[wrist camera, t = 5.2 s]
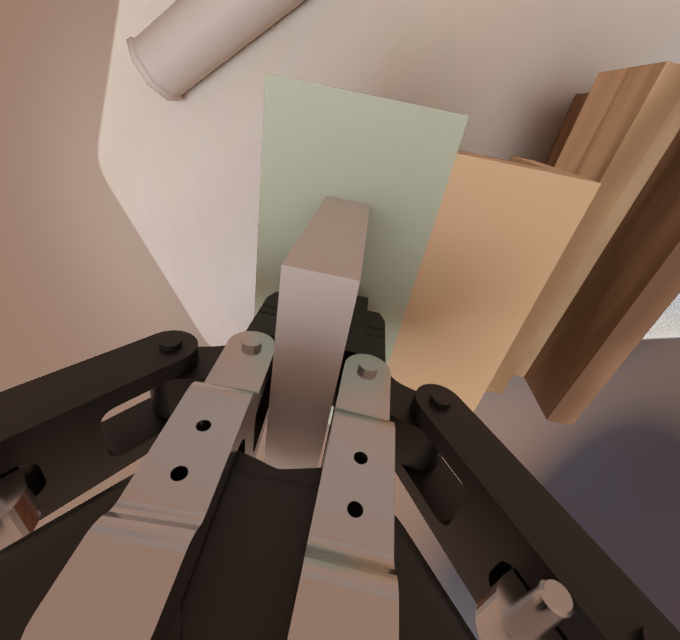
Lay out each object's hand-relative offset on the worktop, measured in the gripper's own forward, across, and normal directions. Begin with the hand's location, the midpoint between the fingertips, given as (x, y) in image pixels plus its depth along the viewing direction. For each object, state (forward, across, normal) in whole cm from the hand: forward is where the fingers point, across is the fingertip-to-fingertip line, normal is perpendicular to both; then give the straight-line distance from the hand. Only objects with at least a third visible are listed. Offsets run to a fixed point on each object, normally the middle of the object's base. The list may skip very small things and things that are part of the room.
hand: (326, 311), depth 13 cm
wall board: (+29, -19, 0) cm, 35 cm away
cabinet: (+11, -2, 0) cm, 11 cm away
